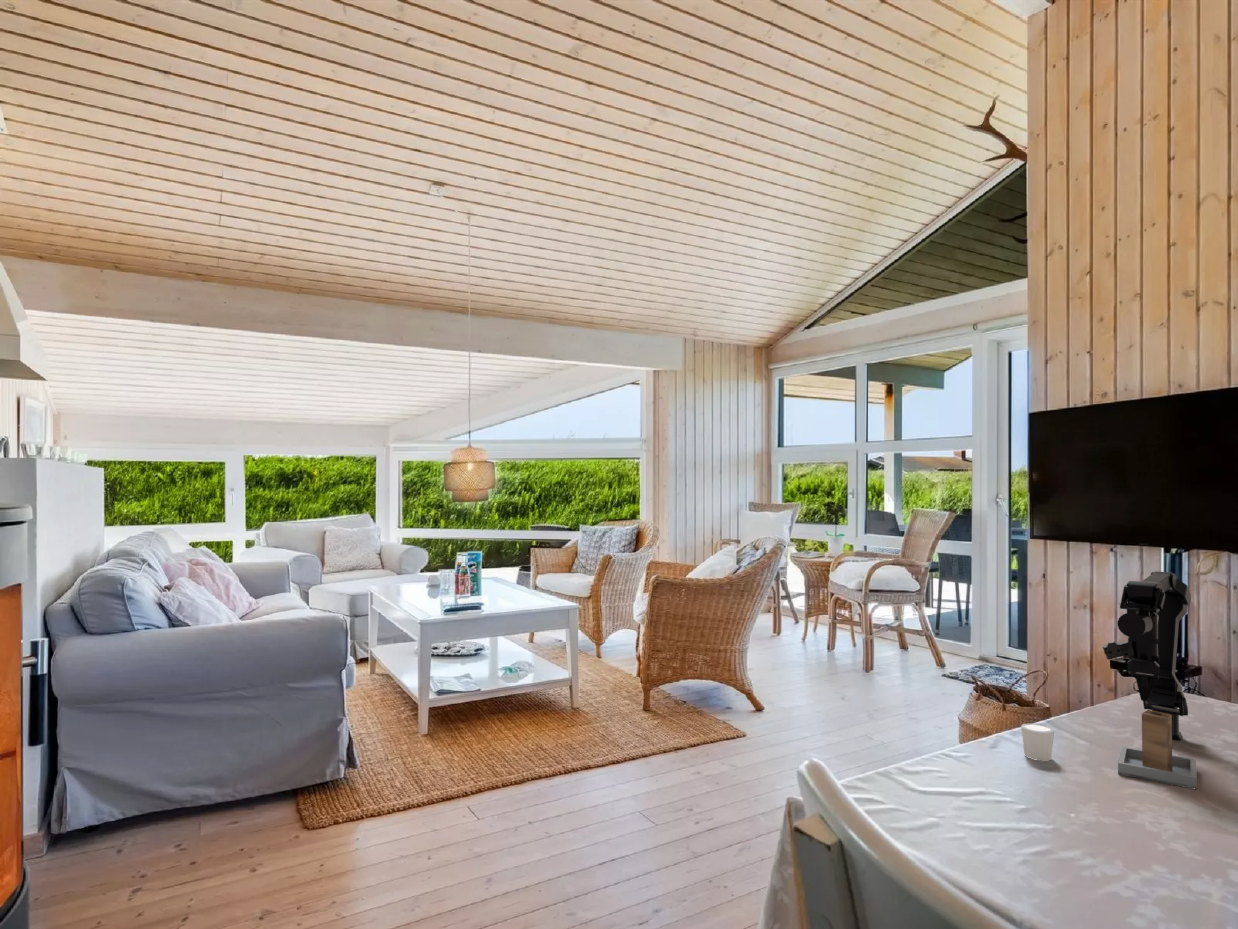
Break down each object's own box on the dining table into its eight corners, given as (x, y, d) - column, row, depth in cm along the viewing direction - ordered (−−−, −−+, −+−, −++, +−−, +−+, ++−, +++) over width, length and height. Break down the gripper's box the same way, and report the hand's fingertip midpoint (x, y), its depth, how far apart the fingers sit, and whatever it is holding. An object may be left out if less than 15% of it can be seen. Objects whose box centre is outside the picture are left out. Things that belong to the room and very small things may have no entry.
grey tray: (1122, 756, 178) (1122, 746, 178) (1196, 770, 170) (1195, 759, 170) (1118, 774, 167) (1117, 762, 167) (1196, 789, 159) (1196, 777, 159)
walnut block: (1148, 764, 172) (1148, 709, 172) (1172, 770, 168) (1171, 713, 169) (1142, 769, 169) (1141, 712, 169) (1166, 775, 165) (1165, 717, 166)
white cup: (1046, 752, 181) (1045, 723, 181) (1060, 763, 174) (1059, 732, 174) (1016, 751, 181) (1016, 722, 182) (1029, 761, 174) (1029, 731, 175)
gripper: (1106, 624, 196) (1107, 684, 196) (1102, 633, 181) (1102, 698, 180) (1159, 629, 190) (1159, 691, 189) (1159, 640, 175) (1159, 707, 174)
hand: (1144, 696), depth 183 cm, fingers open, 9 cm apart
